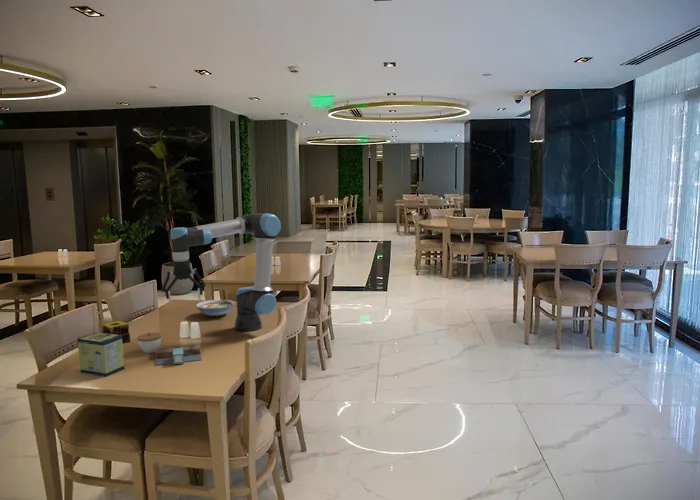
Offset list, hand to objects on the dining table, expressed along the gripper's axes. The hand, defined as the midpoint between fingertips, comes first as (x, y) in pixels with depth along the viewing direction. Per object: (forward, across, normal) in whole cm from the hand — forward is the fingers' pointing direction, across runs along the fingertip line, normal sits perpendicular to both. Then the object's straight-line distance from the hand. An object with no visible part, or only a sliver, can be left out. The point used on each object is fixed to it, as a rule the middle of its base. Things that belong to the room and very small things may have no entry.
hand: (185, 303), depth 254 cm
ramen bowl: (+25, -19, -66) cm, 73 cm away
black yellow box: (+23, +35, -29) cm, 51 cm away
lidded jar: (+24, +18, -6) cm, 30 cm away
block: (+21, +5, +10) cm, 24 cm away
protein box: (+23, +38, +14) cm, 46 cm away
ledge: (+24, +5, +4) cm, 24 cm away
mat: (+23, +6, +13) cm, 27 cm away
